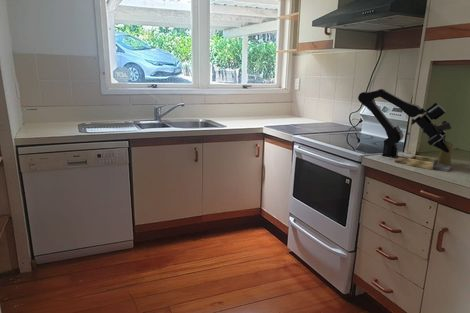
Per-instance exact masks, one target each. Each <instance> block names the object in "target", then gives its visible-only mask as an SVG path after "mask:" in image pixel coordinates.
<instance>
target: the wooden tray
mask: <svg viewBox="0 0 470 313" xmlns="http://www.w3.org/2000/svg"><path fill="white" fill-rule="evenodd" d="M394 163H397V164H403V165H406V166H410V167H416V168H422V169H427V170H428V169H429V170H436V171H442V172H449V171H450V170H451V169H452V165H444V164H438V158H432V157H427V156H421V155H412V156H410V157H408V158H407V157H401V156H399V157H397V158H395V159H394Z"/></svg>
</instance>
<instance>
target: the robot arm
mask: <svg viewBox="0 0 470 313" xmlns="http://www.w3.org/2000/svg"><path fill="white" fill-rule="evenodd" d="M378 98H381V99H383V100H385V101H386V102H389V103H390V104H392V105H394V106H396V107H398V108H399V109H401V111H403V113H404V114H406V115H407V116H408V117H410V118H412V119H411V123H410V124H411V125H413V126H414V124H417V126H418V127H419V128H420V129H421V130H422V133H423V134H425V135H426V136H427V137H428V140H427V144H428V145H429V146H432V147H436V148H437V149H439V150H440V151H441V150H443V151H445V152H447V153H448V152H449V149H448V148H447V146H446V144H445V143H444V142H448V141H447V139H446V138H447V132H446V131H447V130H451V129H453V127H452V123H451V121H447V120H443V121H442V123H441V124H438V125H437V123H434V122H433V121H432V120H434V121H437V120H438V119H439V118H441V117H443V116H444V115H445V114H446V113H447V111H446V110H445V108H444V107H442V106H441V105H440V104H439V103H438V102H434V103H433V104H432V105H431V106H430V107H428V108H422V107H421V106H420V105H417V104H415V103H411V102H408V101H406V100H403V98H402V99H401V98H400V97H398V96H396V95H395V94H392V93H391V92H389V91H387V90H386V89H384V88H380V89H377V90H374V91H363V92H360V93H359V95H358V97H357V100H358V102H359V103H360V104H361V105H363V106H364V107H366V108H367V109H368V110H369V111H370V112H371V113H372V115H373V116H374V117H375V119H376V120H377V122H378V123H379V124H380V125H381V126H382V128H383V129H384V131H385V134H386V136H387V138H386V139H384V140H383V150H382V154H381V156H384V157H390V158H396V157H398V155H399V147H398V146H399V142H401V141H402V140H403V139H404V131H403V130H402V129H401V128H400V126H399V125H397V126H395V125H393V123H392V122H391V121H390V119H388V117H387V116H386V115H385V114H384V112H383V111H382V110H381V108H380V107H379V106H378V105H377V103H376V100H375V99H378ZM421 115H422V116H421ZM415 117H416V118H415Z"/></svg>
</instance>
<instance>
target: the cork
mask: <svg viewBox="0 0 470 313" xmlns="http://www.w3.org/2000/svg"><path fill="white" fill-rule="evenodd" d="M444 143H445V144H446V146H447V148H448V149H449V152H448V153H447V152H445V151H443V150H441V149H440V152H439V154H438V157H437V159H438V164H444V165H450V166H452V165H451V163H452V149H453V147H454V143H453V142H451V141H447V142H444Z"/></svg>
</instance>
